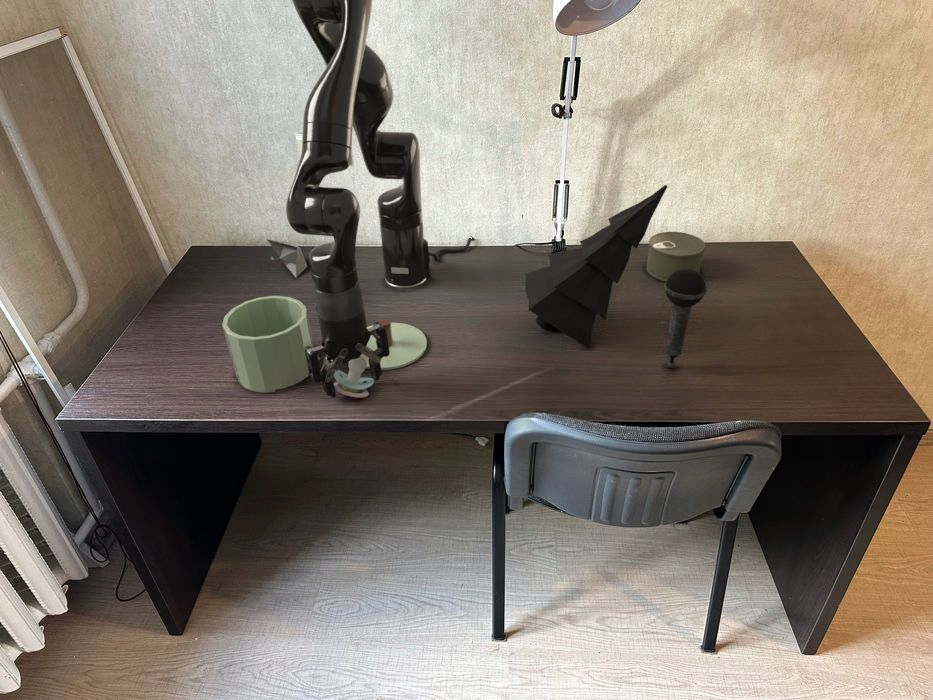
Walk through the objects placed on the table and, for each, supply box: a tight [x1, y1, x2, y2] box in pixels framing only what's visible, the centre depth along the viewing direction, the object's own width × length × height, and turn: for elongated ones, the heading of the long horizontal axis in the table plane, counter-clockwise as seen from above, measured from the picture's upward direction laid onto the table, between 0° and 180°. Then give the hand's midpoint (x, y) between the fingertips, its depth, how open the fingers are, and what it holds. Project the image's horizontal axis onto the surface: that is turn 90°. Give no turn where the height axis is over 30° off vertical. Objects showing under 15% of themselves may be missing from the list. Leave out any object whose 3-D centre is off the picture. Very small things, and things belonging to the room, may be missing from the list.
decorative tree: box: [525, 184, 668, 349], centre depth 125 cm, size 15×15×35 cm
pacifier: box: [333, 356, 375, 399], centre depth 116 cm, size 7×6×6 cm
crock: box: [221, 295, 315, 394], centre depth 122 cm, size 14×14×12 cm
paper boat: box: [266, 238, 308, 278], centre depth 157 cm, size 12×6×9 cm
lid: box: [360, 318, 428, 371], centre depth 128 cm, size 15×15×6 cm
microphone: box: [663, 268, 707, 369], centre depth 116 cm, size 7×7×20 cm
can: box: [646, 231, 706, 282], centre depth 150 cm, size 12×12×7 cm
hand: (354, 386), depth 117 cm, fingers closed on pacifier, 8 cm apart
